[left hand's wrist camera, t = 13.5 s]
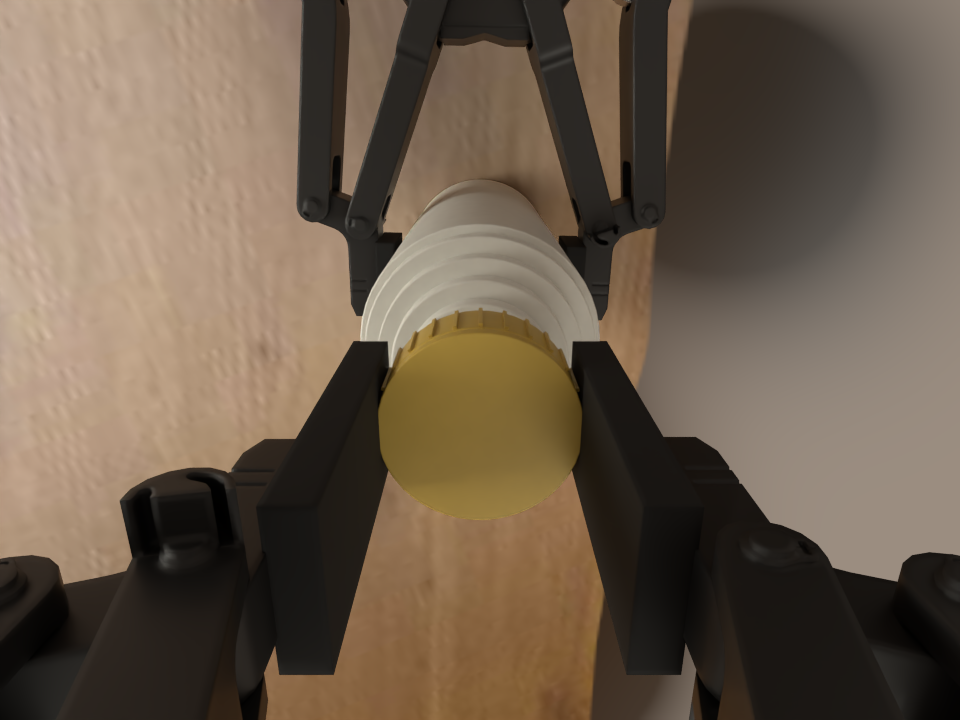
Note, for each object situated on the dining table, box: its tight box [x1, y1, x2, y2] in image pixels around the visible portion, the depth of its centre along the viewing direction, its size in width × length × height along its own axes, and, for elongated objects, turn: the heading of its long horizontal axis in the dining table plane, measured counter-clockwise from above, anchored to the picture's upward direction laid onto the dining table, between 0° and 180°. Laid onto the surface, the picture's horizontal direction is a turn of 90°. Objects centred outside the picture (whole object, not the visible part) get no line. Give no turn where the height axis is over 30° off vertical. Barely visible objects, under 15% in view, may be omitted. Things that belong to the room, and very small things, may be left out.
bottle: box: [360, 179, 600, 368], centre depth 23 cm, size 7×7×20 cm
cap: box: [378, 308, 582, 520], centre depth 14 cm, size 4×4×2 cm
